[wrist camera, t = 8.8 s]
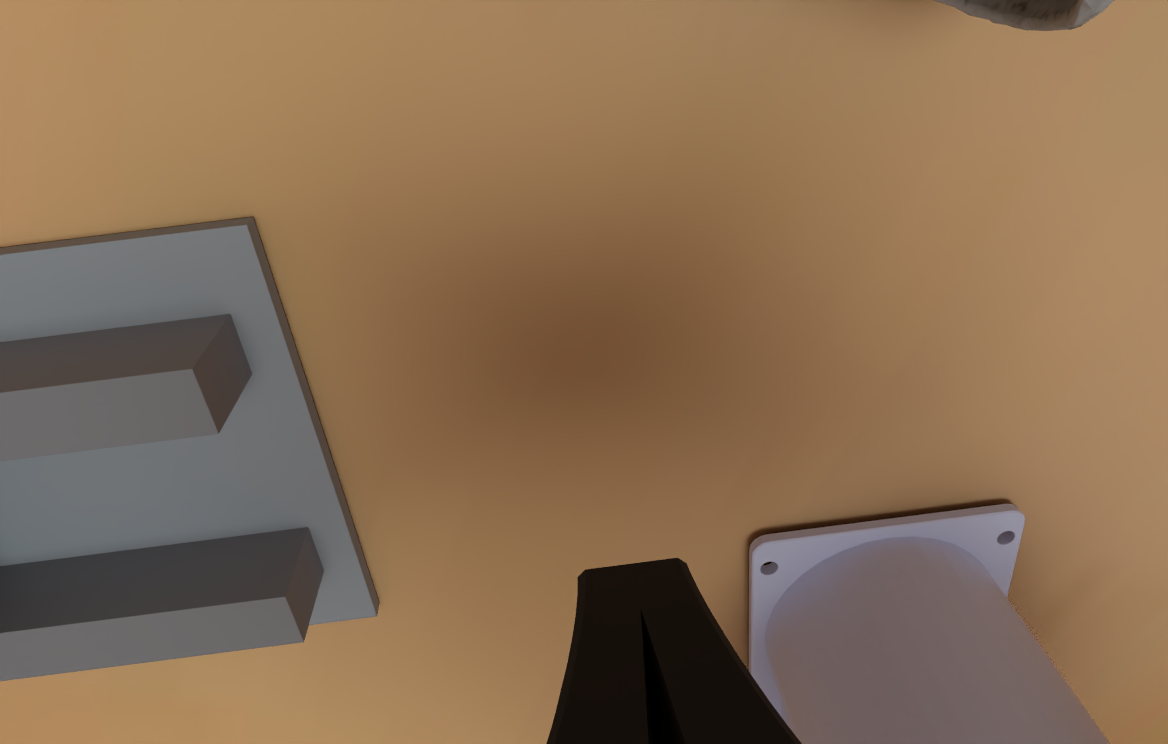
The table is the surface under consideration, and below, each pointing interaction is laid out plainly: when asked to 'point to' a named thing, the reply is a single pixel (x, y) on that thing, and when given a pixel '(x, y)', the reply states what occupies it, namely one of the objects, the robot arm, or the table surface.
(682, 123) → the table surface
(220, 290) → the grey slotted fixture
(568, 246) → the table surface
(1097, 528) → the table surface
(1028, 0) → the ceramic mug
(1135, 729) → the table surface
